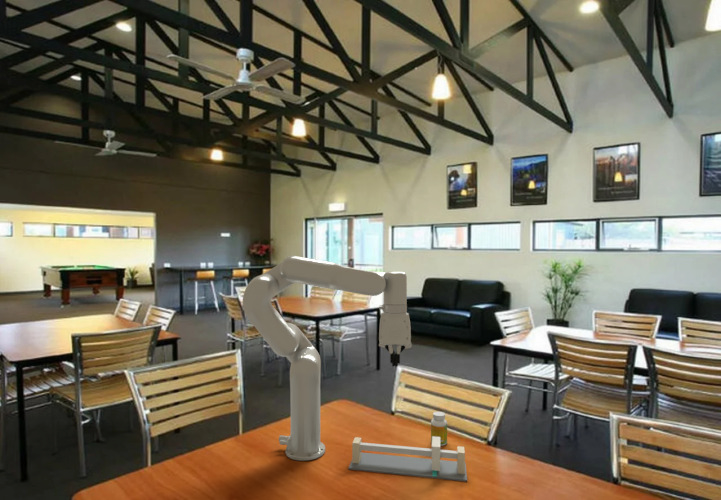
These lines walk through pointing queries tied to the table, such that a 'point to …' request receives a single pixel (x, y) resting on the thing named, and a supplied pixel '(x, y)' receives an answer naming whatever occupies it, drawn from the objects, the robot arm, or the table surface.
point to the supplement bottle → (439, 427)
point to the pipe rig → (407, 461)
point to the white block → (435, 453)
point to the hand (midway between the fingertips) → (395, 365)
